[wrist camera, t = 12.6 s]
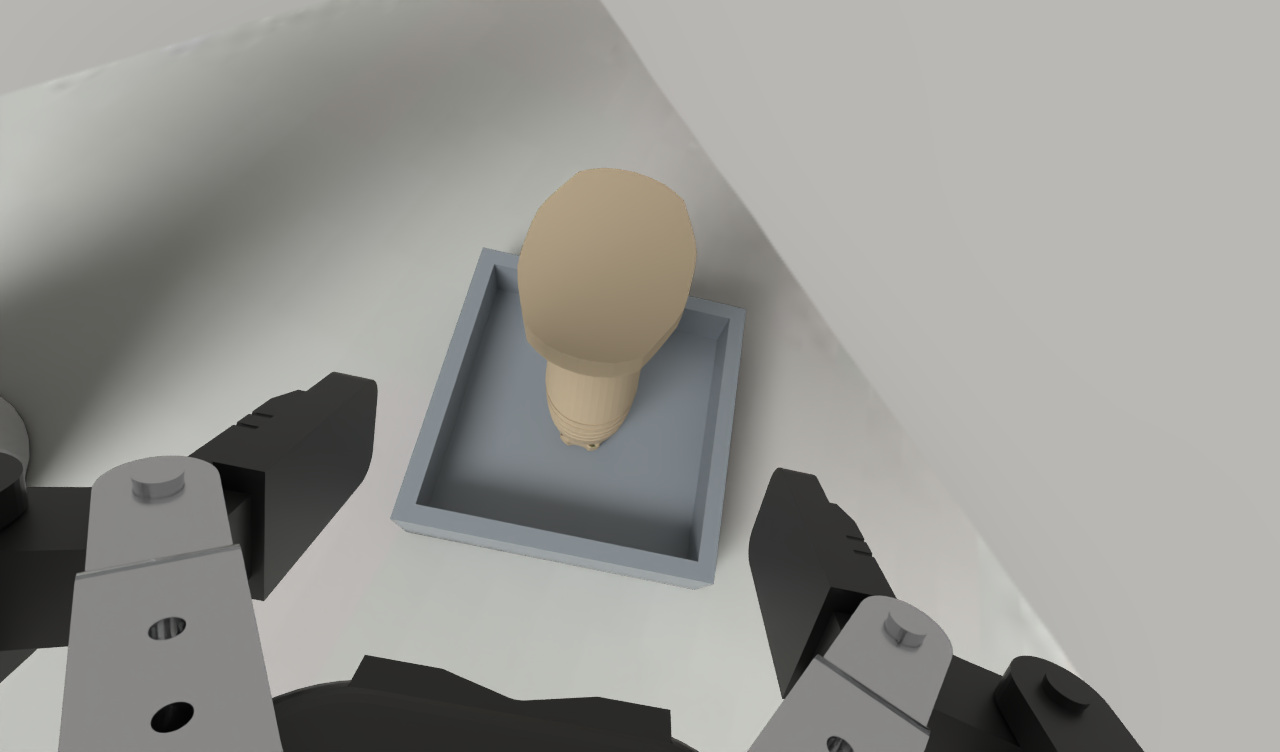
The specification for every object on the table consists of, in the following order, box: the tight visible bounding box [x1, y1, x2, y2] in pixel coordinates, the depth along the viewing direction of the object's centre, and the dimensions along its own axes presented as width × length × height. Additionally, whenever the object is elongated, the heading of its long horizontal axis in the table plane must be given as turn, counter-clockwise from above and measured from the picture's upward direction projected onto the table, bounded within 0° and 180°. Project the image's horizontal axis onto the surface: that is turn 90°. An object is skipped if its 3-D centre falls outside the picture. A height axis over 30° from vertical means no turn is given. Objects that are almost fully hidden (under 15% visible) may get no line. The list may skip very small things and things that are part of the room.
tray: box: [390, 247, 746, 590], centre depth 30 cm, size 14×14×4 cm
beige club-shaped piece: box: [517, 168, 697, 451], centre depth 24 cm, size 5×6×15 cm
